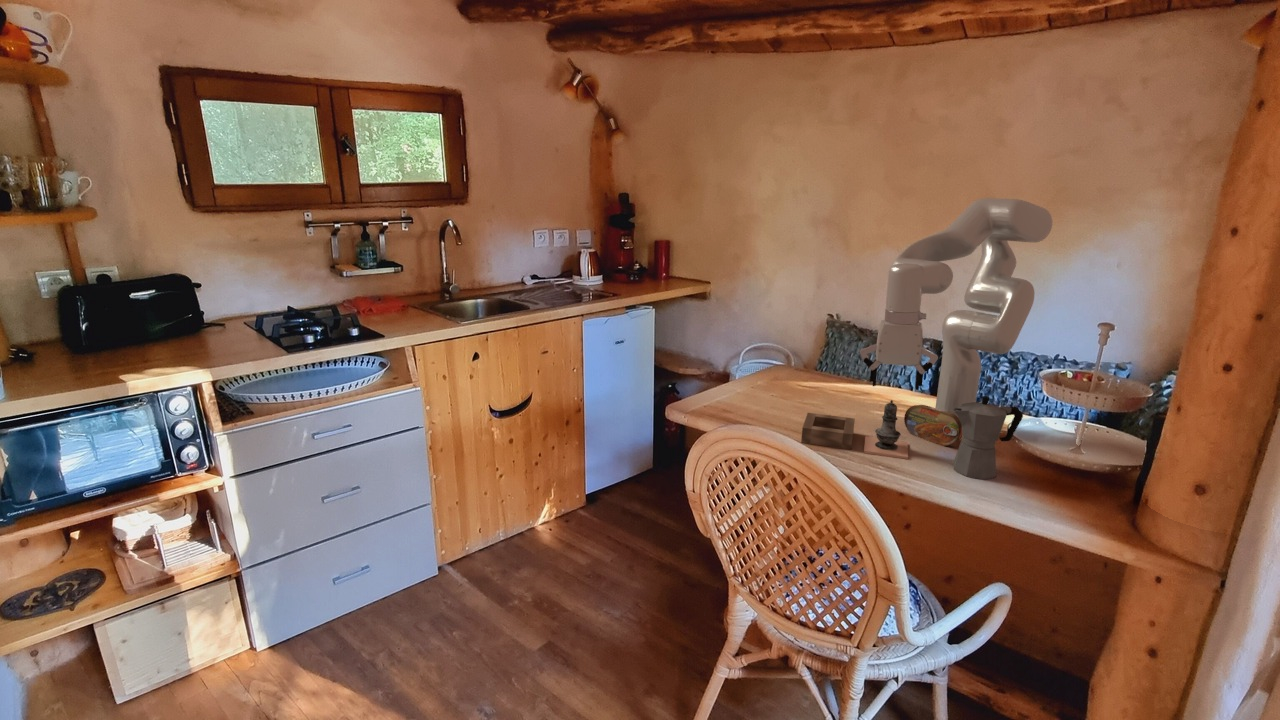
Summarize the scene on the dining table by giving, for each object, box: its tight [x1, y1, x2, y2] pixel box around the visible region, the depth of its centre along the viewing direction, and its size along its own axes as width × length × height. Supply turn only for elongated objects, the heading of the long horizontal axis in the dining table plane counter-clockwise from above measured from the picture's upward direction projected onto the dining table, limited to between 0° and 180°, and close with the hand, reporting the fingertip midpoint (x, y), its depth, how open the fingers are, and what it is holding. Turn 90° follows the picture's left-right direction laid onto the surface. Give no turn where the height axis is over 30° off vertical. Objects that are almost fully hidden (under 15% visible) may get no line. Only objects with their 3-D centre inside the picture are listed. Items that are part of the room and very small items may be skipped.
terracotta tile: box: [863, 436, 909, 460], centre depth 159 cm, size 10×10×1 cm
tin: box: [903, 404, 963, 446], centre depth 165 cm, size 15×3×8 cm, turn 33°
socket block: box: [800, 412, 856, 451], centre depth 165 cm, size 12×12×4 cm
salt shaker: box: [874, 399, 901, 450], centre depth 158 cm, size 6×6×12 cm
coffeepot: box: [952, 395, 1024, 480], centre depth 145 cm, size 15×9×18 cm, turn 90°
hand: (895, 386), depth 156 cm, fingers open, 9 cm apart
